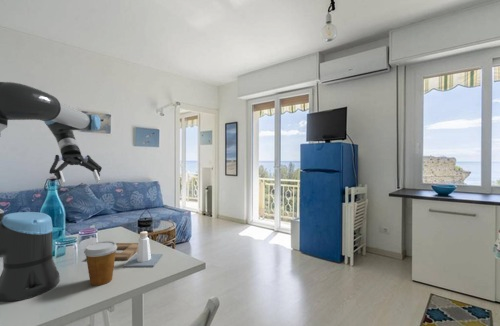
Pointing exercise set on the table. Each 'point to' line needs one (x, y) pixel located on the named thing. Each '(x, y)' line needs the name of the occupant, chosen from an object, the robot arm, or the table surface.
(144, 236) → the pepper shaker
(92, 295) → the table surface
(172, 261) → the table surface
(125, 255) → the walnut frame
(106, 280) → the disposable coffee cup
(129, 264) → the grey mat
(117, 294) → the table surface
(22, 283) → the robot arm
